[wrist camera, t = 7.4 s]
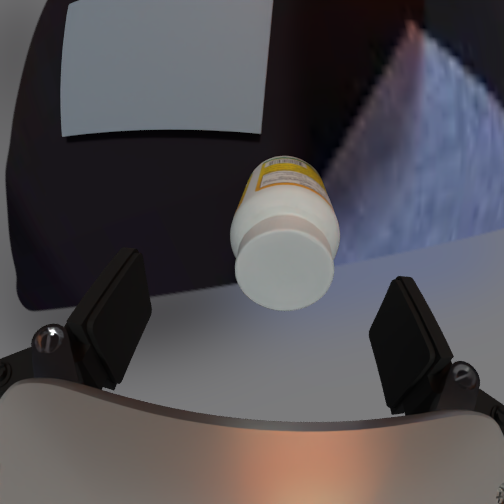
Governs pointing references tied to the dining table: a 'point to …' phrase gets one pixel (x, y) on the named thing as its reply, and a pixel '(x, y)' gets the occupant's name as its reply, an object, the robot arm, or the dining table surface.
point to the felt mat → (164, 65)
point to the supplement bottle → (284, 235)
